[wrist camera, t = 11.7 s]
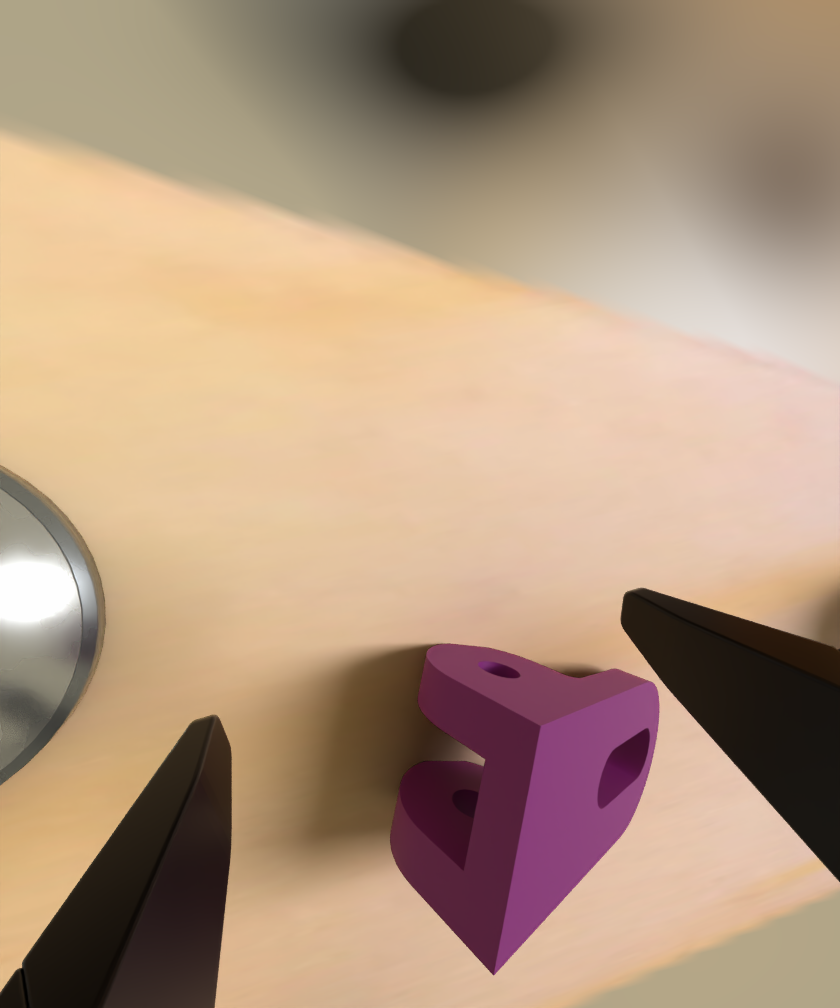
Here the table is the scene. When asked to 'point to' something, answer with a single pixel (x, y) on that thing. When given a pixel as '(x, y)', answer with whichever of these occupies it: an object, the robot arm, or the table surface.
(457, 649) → the mounting bracket
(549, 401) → the table surface
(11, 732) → the disc
